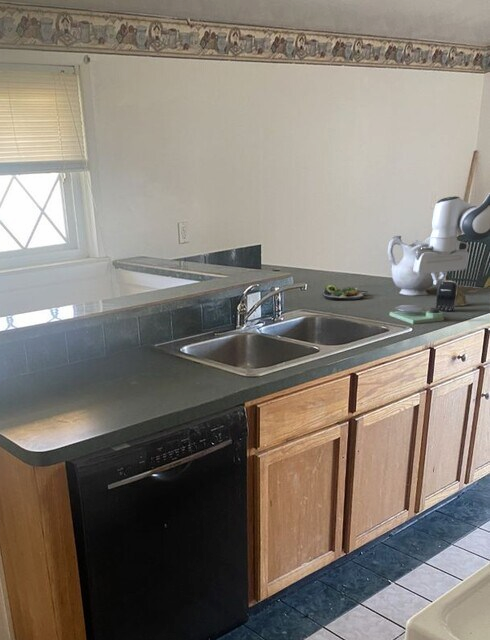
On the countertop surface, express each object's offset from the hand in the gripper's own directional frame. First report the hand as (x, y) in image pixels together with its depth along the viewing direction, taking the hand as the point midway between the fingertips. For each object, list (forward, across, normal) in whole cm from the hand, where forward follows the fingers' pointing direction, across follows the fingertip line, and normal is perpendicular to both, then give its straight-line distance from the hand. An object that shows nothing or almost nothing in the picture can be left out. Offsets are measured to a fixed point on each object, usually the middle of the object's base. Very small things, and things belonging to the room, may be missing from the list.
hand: (437, 284), depth 238 cm
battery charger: (+13, +12, +10) cm, 21 cm away
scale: (+13, -4, +5) cm, 15 cm away
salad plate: (+13, -9, +52) cm, 54 cm away
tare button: (+11, 0, 0) cm, 11 cm away
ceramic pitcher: (+13, +21, +45) cm, 51 cm away
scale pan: (+10, -5, +7) cm, 14 cm away
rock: (+13, +21, +17) cm, 30 cm away
